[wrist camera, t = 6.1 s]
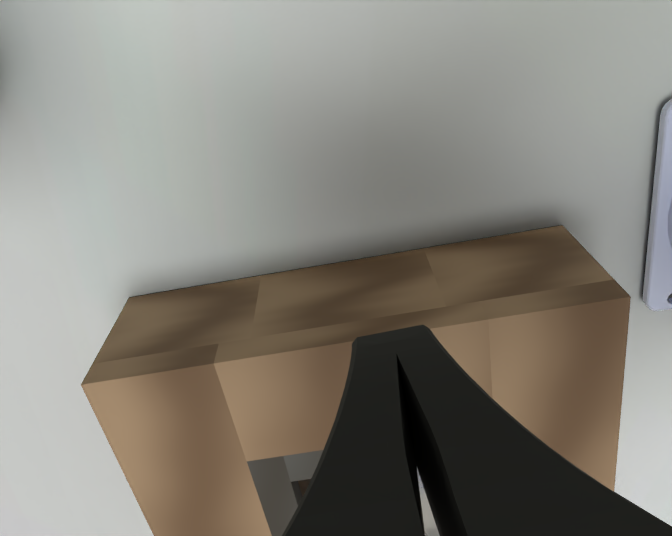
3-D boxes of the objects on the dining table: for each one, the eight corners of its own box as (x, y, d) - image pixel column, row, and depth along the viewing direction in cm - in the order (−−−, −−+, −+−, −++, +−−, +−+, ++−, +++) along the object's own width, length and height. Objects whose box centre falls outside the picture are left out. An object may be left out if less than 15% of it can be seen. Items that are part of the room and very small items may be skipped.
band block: (562, 225, 21) (630, 296, 16) (556, 521, 28) (602, 625, 24) (129, 297, 21) (81, 385, 17) (236, 567, 29) (222, 676, 24)
